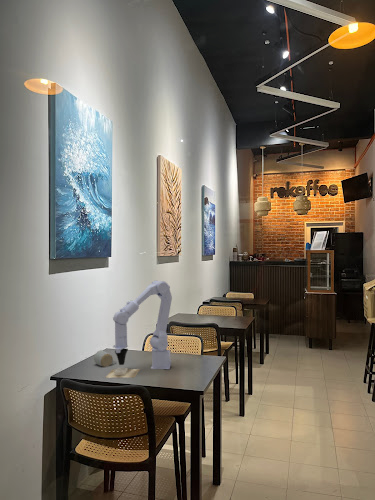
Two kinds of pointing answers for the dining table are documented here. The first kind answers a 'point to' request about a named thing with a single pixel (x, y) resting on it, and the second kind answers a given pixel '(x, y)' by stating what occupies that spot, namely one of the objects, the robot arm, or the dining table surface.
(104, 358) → the ceramic mug
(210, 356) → the dining table surface
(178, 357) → the dining table surface
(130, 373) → the board
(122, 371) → the tile
